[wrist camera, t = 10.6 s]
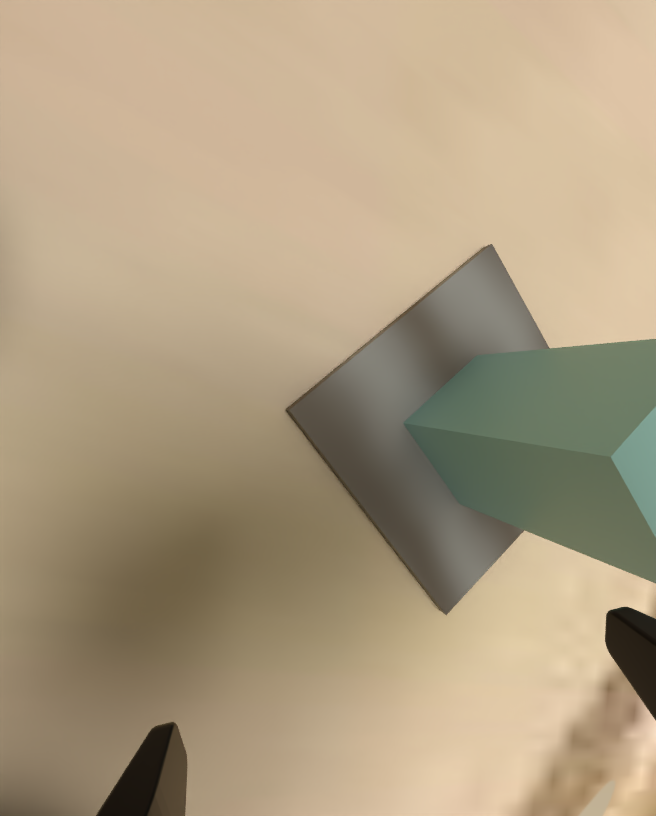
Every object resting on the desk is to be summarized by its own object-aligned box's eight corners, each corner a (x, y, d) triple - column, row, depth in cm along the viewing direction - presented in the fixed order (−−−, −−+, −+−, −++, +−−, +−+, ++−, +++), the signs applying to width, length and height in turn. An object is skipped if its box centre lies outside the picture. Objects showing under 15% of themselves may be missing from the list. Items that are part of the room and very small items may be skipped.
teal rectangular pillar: (459, 503, 24) (688, 596, 13) (402, 423, 22) (610, 456, 12) (526, 435, 25) (781, 472, 15) (476, 355, 24) (721, 332, 13)
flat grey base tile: (439, 609, 24) (499, 658, 20) (285, 409, 21) (317, 416, 16) (593, 443, 28) (673, 454, 23) (484, 247, 24) (554, 217, 20)
